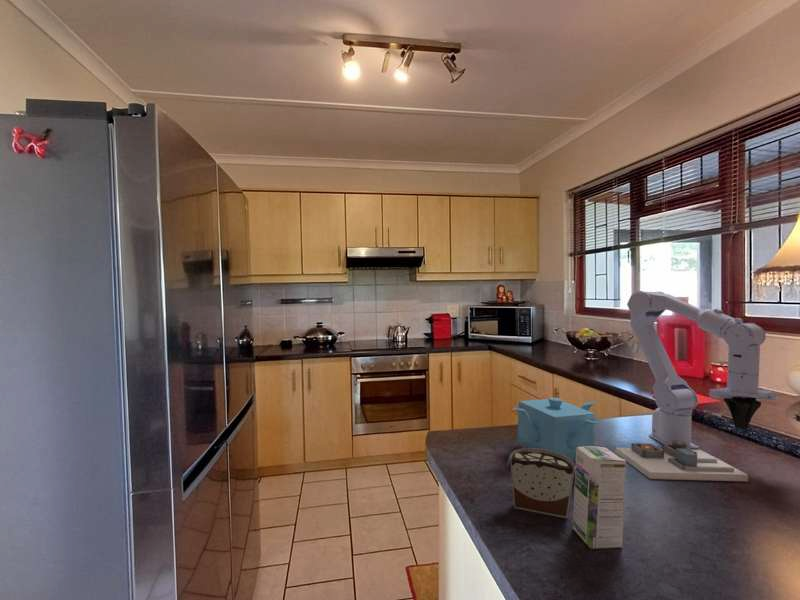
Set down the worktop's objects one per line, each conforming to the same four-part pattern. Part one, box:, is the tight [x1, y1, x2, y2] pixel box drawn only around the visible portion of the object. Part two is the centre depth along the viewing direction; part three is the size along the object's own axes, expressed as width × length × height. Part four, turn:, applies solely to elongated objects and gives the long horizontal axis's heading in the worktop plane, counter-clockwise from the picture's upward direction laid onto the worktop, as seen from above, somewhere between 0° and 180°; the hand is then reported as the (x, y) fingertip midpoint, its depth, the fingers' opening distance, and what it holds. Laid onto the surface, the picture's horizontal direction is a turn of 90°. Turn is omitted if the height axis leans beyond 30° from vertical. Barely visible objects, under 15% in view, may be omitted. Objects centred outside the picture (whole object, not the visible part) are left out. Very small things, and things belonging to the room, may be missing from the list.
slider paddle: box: [675, 448, 697, 466], centre depth 91 cm, size 4×2×3 cm, turn 0°
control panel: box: [614, 442, 749, 482], centre depth 94 cm, size 14×22×3 cm, turn 90°
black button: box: [672, 440, 687, 450], centre depth 98 cm, size 3×3×2 cm
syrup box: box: [572, 445, 627, 550], centre depth 65 cm, size 6×6×14 cm
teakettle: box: [512, 397, 599, 464], centre depth 98 cm, size 19×19×15 cm
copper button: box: [640, 443, 655, 450], centre depth 98 cm, size 3×3×2 cm
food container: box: [507, 447, 576, 519], centre depth 75 cm, size 12×6×10 cm, turn 71°
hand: (740, 428), depth 95 cm, fingers closed
